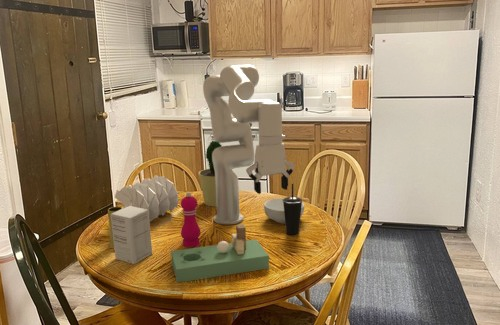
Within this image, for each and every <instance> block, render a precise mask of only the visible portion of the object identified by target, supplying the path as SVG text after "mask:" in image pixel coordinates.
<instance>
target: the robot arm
mask: <svg viewBox="0 0 500 325" xmlns="http://www.w3.org/2000/svg"><path fill="white" fill-rule="evenodd" d="M259 79H260V75H259V71H258V69H257V68H256V67H255V66H254V65H251V64H236V65H235V64H234V65H228V66H227V65H226V66H225V67H223V68H222V69H221V71H220V73H219V74H216V75H211V76H207V77H206V78H205V79H204V81H203V84H202V90H203V95H204V99H205V103H206V104H207V106H208V108H209V115H210V123H211V130H212V136H213V140H214V141H216V142H219V143H222V144H224V143H233V142H238V143H239V144H230V145H221V147H218V148H216V149H215V150H214V151H213V153H212V160H213V165H214V170H215V181H216V204H217V206H216V214H215V215H214V216H213V221H214V222H215V223H216V224H219V225H225V226H226V225H235V224H236V225H237V224H239V223H241V222H243V220H244V215H243V214H242V213H241V212H240V186H239V178H238V176H237V174H236V173H235V172H234V169H239V168H245V167H246V169H245V171H246V173H247V175H248V177H249V178H251V180H252V181H253V189H254V192H255V193H257V195H258V194H259V195H260V194H262V183H261V181H260V180H261V179H262V178H263V176H264V177H266V176H274V175H280V174H281V177H280V179H281V180H280V182H281V189H283V190H285V191H288V186H289V178H291V177H290V176H291V175H292V173H293V172H294V171H293V170H294V169H295V166H296V163H294V162H292V161H289V160H287V153H286V149H285V143H284V140H286V138H287V137H286V135H283V120H282V119H283V115H282V114H283V113H282V104H281V103H280V102H278V101H273V100H272V99H269V98H261V99H251V98H252V97H253V95H254V93H255V88H256V87H257V85H258V83H259V81H260V80H259ZM223 97H228V98H227V99H228V100H227V101H226V100H225V98H223ZM232 116H233V117H232ZM253 123H258V143H257V144H256V146H255V148H254V141H253V140H254V139H253V134H252V133H253V132H252V128H251V124H253ZM287 165H288V166H287ZM253 173H255V174H253Z"/></svg>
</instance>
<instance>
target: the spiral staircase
mask: <svg viewBox="0 0 500 325" xmlns="http://www.w3.org/2000/svg"><path fill="white" fill-rule="evenodd" d="M178 194H179V192H178V190H177V189H176V187H175V185H174V182H173V181H170V180H169V179H168V178H166V176H158V174H155V175H154V176H152V177H151V178H150V177H149V178H146V177H145V178H144V179H143V180H142V181H141V182H136V183H134V184H133V185H131V184H129V185H128V186H127V185H125V186H123V187H122V188H121V189H118V188H117V189H116V192H115V195H114V198H115V199H116V200H117V201H118V202H120V203H121V204H123V207H122V209H124V208H126V207H128V206H133V207H138V208H143V209H147V210H148V211H149V222H150V223H151V222H153V220H155V219H158V218H159V216H160V215H161V216H165V214H166V213H167V211H169V212H170V213H172V212H173V211H174V210H175V209H176V208H178V206H179V200H180V199H179V197H178V196H179V195H178Z"/></svg>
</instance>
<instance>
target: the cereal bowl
mask: <svg viewBox="0 0 500 325" xmlns="http://www.w3.org/2000/svg"><path fill="white" fill-rule="evenodd" d="M284 198H285V197H284ZM284 198H283V197H282V198H273V199H269V200H266V201H265V202H264V204H263V211H264V213H265V215H266V216H267V217H268V218H269V219H270V220H272V221H275V223H279V224H285V214H284V204H283V199H284ZM304 212H305V204H304V201H303V202H302V206H301V216H300V218H301V217H302V216H303V214H304Z"/></svg>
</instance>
